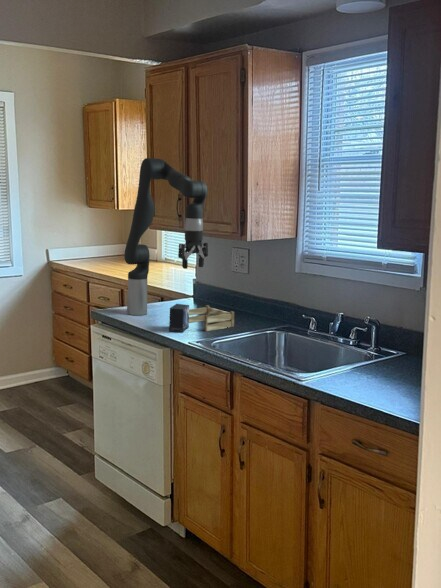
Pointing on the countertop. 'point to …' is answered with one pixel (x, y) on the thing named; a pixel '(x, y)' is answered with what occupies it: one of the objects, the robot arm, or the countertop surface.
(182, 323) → the small box
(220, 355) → the countertop surface
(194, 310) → the pine crate
